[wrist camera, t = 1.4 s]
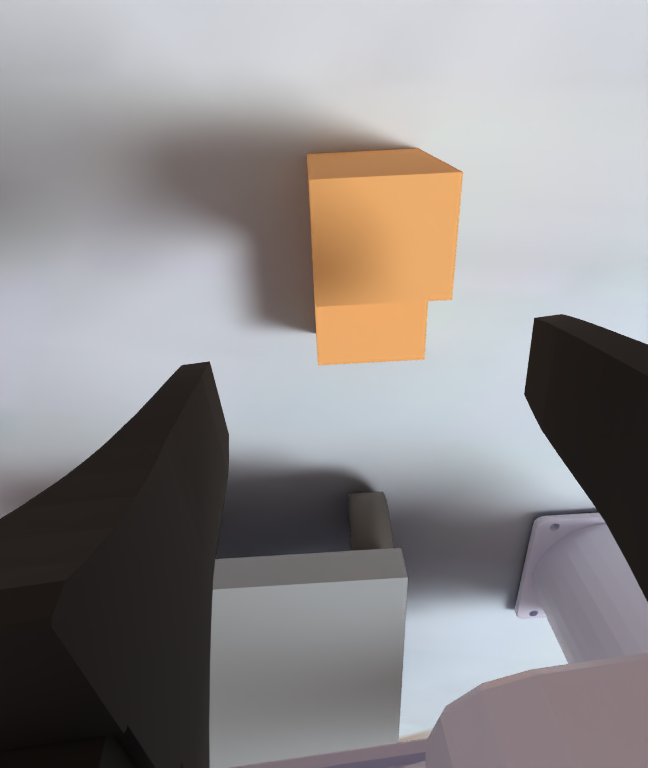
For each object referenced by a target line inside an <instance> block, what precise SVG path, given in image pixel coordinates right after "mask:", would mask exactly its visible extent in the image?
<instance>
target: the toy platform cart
mask: <svg viewBox="0 0 648 768" xmlns="http://www.w3.org/2000/svg"><path fill="white" fill-rule="evenodd" d="M349 531H350V547H351V551H340V552H323V553H307V554H291V555H274V556H258V557H242V558H226V559H215V567H214V576H213V595H212V618H211V651H210V714H209V747H210V768H230V767H236V766H243V765H250V764H257V763H263V762H270V761H277V760H284V759H291V758H297V757H304V756H311V755H318V754H324V753H331V752H338V751H345V750H351V749H358V748H365V747H372V746H379V745H385V744H392V743H398V739H399V722H400V705H401V688H402V671H403V653H404V636H405V619H406V602H407V585H408V576H407V571H406V567H405V562H404V558H403V553H402V549H401V548H393V540H392V531H391V523H390V517H389V511H388V506H387V501H386V498H385V495H384V493H383V492H370V493H353V494H349Z"/></svg>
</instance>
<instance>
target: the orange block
mask: <svg viewBox="0 0 648 768" xmlns="http://www.w3.org/2000/svg"><path fill="white" fill-rule="evenodd" d="M307 170H308V188H309V207H310V226H311V245H312V263H313V282H314V301H315V320H316V338H317V354H318V365H331V364H350V363H368V362H386V361H404V360H422V359H424V358H425V342H426V325H427V309H428V301H436V300H452V294H453V282H454V270H455V259H456V247H457V235H458V223H459V212H460V200H461V188H462V176H463V172H462V171H460V170H458V169H456V168H454V167H453V166H451V165H449V164H447V163H445V162H443V161H441V160H439V159H438V158H436V157H434V156H432V155H430V154H428V153H426V152H424V151H423V150H421V149H419V148H413V149H393V150H373V151H353V152H333V153H313V154H307Z"/></svg>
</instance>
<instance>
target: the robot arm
mask: <svg viewBox="0 0 648 768" xmlns="http://www.w3.org/2000/svg"><path fill="white" fill-rule="evenodd" d="M524 395H525V397H526V399H527V401H528V403H529V406H530V408H531V410H532V412H533V414H534V416H535V418H536V420H537V422H538V424H539V426H540V428H541V430H542V431H543V433H544V434H545V436H546V437H547V439H548V440H549V442H550V443H551V444H552V446H553V447H554V449H555V450H556V452H557V453H558V455H559V456H560V457H561V459H562V460H563V462H564V463H565V465H566V466H567V467H568V469H569V470H570V472H571V473H572V474H573V476H574V477H575V479H576V480H577V482H578V483H579V484H580V486H581V487H582V489H583V490H584V491H585V493H586V494H587V496H588V497H589V499H590V500H591V501H592V503H593V504H594V506H595V507H596V509H597V510H598V512H599V513H584V514H568V515H551V516H541V517H539V518H537V519H536V520H535V521H534V523H533V527H532V532H531V536H530V541H529V546H528V550H527V555H526V560H525V564H524V569H523V573H522V578H521V583H520V587H519V592H518V596H517V601H516V606H515V613H516V615H517V617H518V618H521V619H529V618H545V617H547V619H548V621H549V623H550V625H551V628H552V630H553V632H554V634H555V636H556V638H557V640H558V643H559V645H560V647H561V649H562V651H563V653H564V655H565V658H566V660H567V662H568V664H566V665H559V666H552V667H545V668H539V669H532V670H528V671H525V672H521V673H518V674H514V675H510V676H507V677H503V678H500V679H496V680H493V681H489V682H486V683H482V684H480V685H479V686H477V687H476V688H474V689H473V690H471V691H469V692H468V693H466V694H465V695H463V696H461V697H460V698H458V699H457V700H455V701H453V702H452V703H450V704H449V705H447V706H446V707H445V709H444V710H443V712H442V714H441V715H440V717H439V719H438V721H437V723H436V724H435V726H434V728H433V730H432V732H431V734H430V735H429V737H428V738H426V739H419V740H412V741H406V742H399V743H392V744H385V745H379V746H372V747H365V748H358V749H351V750H345V751H338V752H331V753H324V754H318V755H311V756H304V757H297V758H291V759H284V760H277V761H270V762H263V763H257V764H250V765H243V766H236V767H230V768H648V344H645V343H642V342H640V341H637V340H634V339H632V338H629V337H626V336H624V335H621V334H618V333H616V332H613V331H611V330H608V329H605V328H603V327H600V326H597V325H595V324H592V323H589V322H586V321H583V320H580V319H577V318H574V317H571V316H567V315H562V314H560V315H553V316H545V317H538V318H534V324H533V332H532V340H531V347H530V355H529V362H528V370H527V378H526V385H525V393H524ZM228 468H229V433H228V430H227V426H226V422H225V418H224V414H223V410H222V407H221V403H220V399H219V395H218V391H217V388H216V384H215V380H214V376H213V372H212V368H211V365H210V362H203V363H195V364H188V365H182V366H181V367H180V368H179V369H178V370H177V371H176V372H175V373H174V374H173V375H172V376H171V377H170V378H169V379H168V380H167V381H166V382H165V384H164V385H163V386H162V387H161V388H160V389H159V390H158V391H157V392H156V393H155V395H154V396H153V397H152V398H151V399H150V400H149V401H148V402H147V403H146V404H145V405H144V406H143V407H142V408H141V409H140V410H139V412H138V413H137V414H136V415H135V416H134V417H133V418H132V419H131V420H129V421H128V422H127V423H126V424H125V425H124V426H123V427H122V428H121V429H120V430H119V431H118V432H117V433H116V434H115V435H114V436H113V437H112V438H111V439H110V440H109V441H107V442H106V443H105V444H104V445H103V446H102V447H101V448H100V449H98V450H97V451H96V452H95V453H94V454H93V455H91V456H90V457H89V458H88V459H87V460H85V461H84V462H83V463H81V464H80V465H79V466H78V467H76V468H75V469H74V470H72V471H71V472H70V473H69V474H67V475H66V476H65V477H63V478H62V479H60V480H59V481H58V482H56V483H55V484H53V485H52V486H50V487H49V488H47V489H46V490H44V491H43V492H41V493H40V494H38V495H37V496H35V497H34V498H32V499H31V500H29V501H28V502H26V503H25V504H23V505H22V506H20V507H19V508H17V509H16V510H14V511H13V512H11V513H9V514H8V515H6V516H4V517H3V518H1V519H0V768H210V747H209V714H210V651H211V618H212V595H213V576H214V567H215V558H216V551H217V545H218V538H219V532H220V526H221V519H222V513H223V506H224V500H225V493H226V486H227V479H228ZM552 524H554V525H552Z"/></svg>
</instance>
